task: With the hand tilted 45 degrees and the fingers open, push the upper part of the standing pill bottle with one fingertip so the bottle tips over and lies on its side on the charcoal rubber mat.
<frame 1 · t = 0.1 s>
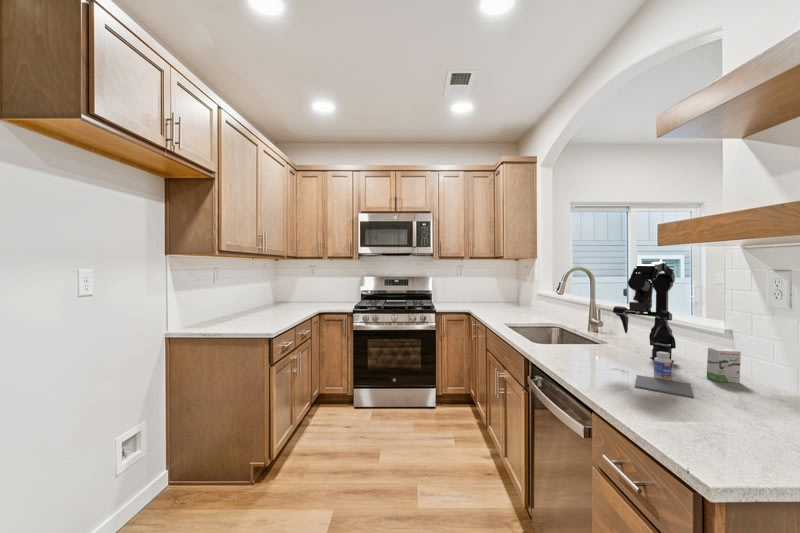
hand: (639, 335, 142), 15 cm above the worktop, tool pointing down, fingers open, 9 cm apart
ink box: (722, 380, 137), on the worktop
pill bottle: (662, 378, 138), on the worktop
rubber mat: (662, 386, 128), on the worktop
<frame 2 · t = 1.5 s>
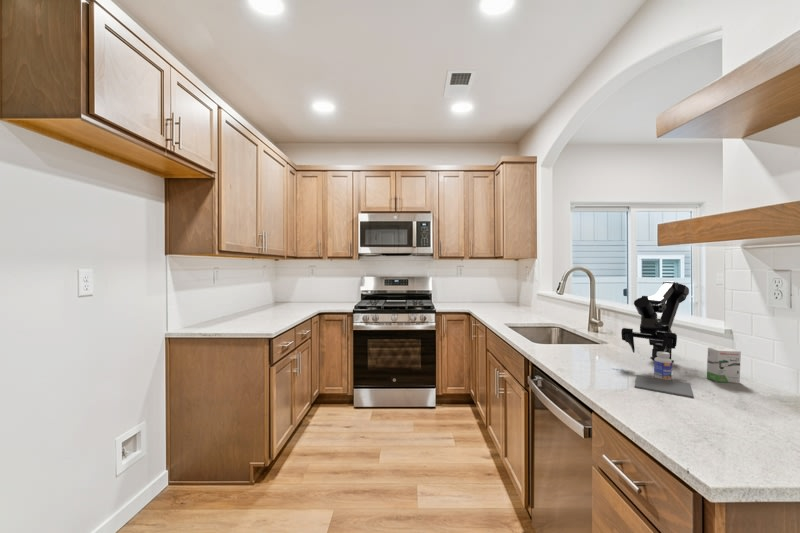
hand: (647, 353, 146), 7 cm above the worktop, tool tilted 45°, fingers open, 9 cm apart
nothing on the worktop moved.
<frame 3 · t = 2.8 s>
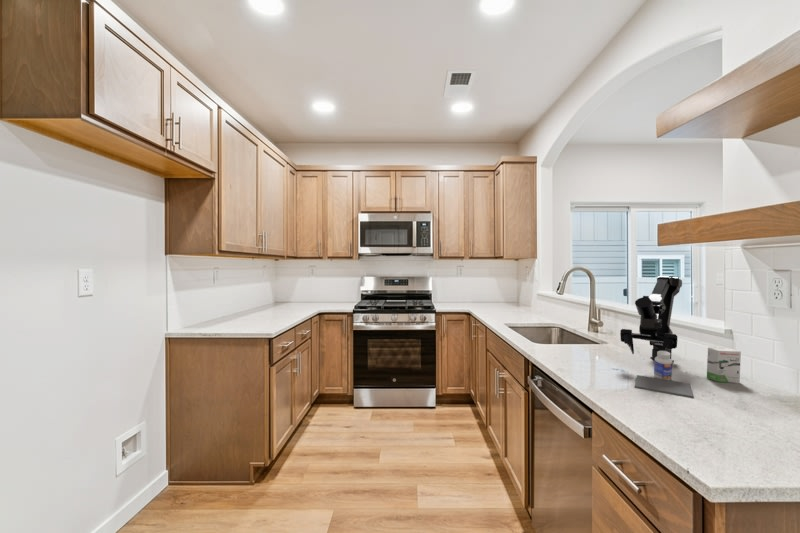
hand: (647, 355, 141), 8 cm above the worktop, tool tilted 45°, fingers open, 9 cm apart
pill bottle: (662, 377, 138), on the worktop, touching gripper
everything else where it was.
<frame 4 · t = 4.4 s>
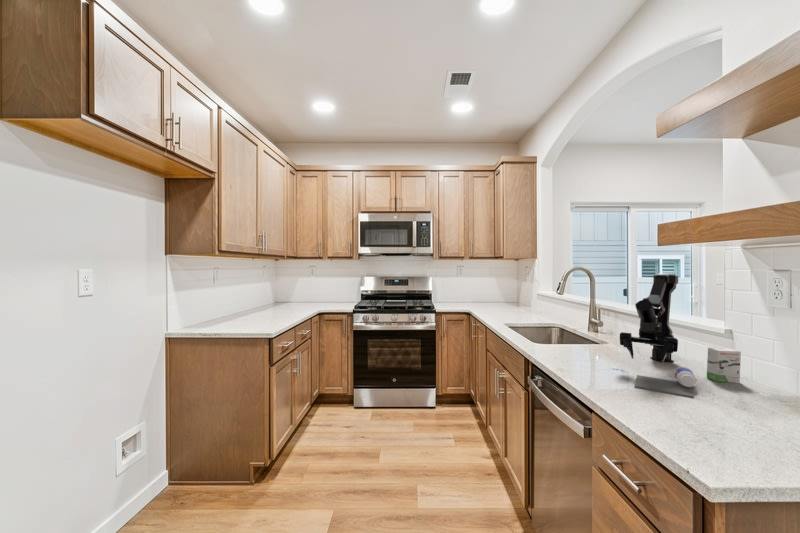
hand: (646, 360, 138), 7 cm above the worktop, tool tilted 45°, fingers open, 9 cm apart
pill bottle: (683, 374, 133), point 3 cm above the worktop, touching rubber mat
everything else where it was.
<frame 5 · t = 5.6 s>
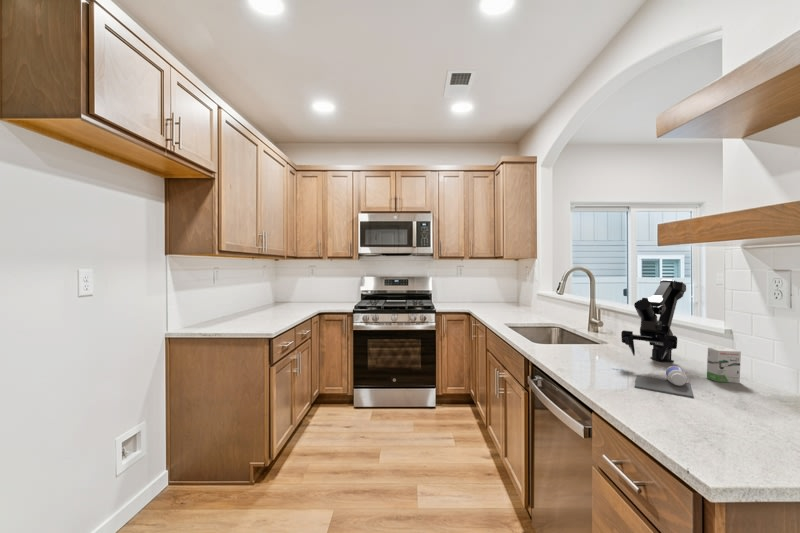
hand: (647, 356, 145), 6 cm above the worktop, tool tilted 45°, fingers open, 9 cm apart
pill bottle: (675, 372, 134), point 3 cm above the worktop, touching rubber mat
everything else where it was.
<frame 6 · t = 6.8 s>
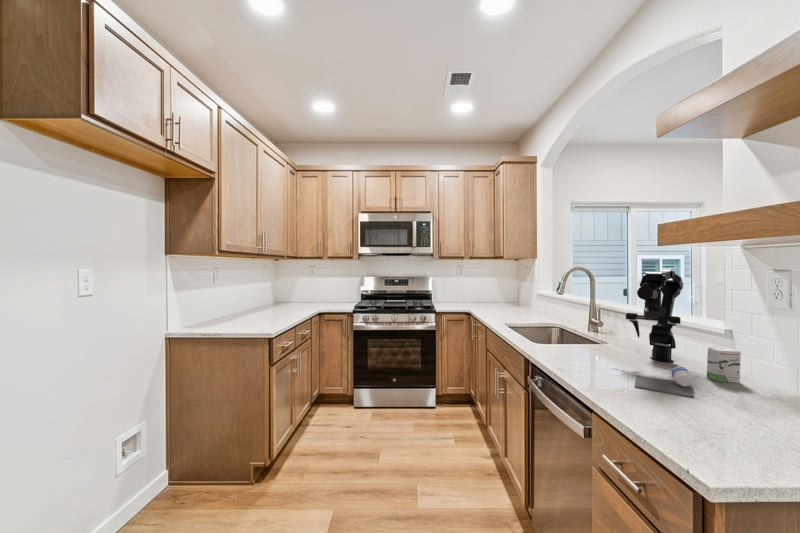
hand: (651, 339, 153), 12 cm above the worktop, tool pointing down, fingers open, 9 cm apart
pill bottle: (680, 373, 133), point 3 cm above the worktop, touching rubber mat
everything else where it was.
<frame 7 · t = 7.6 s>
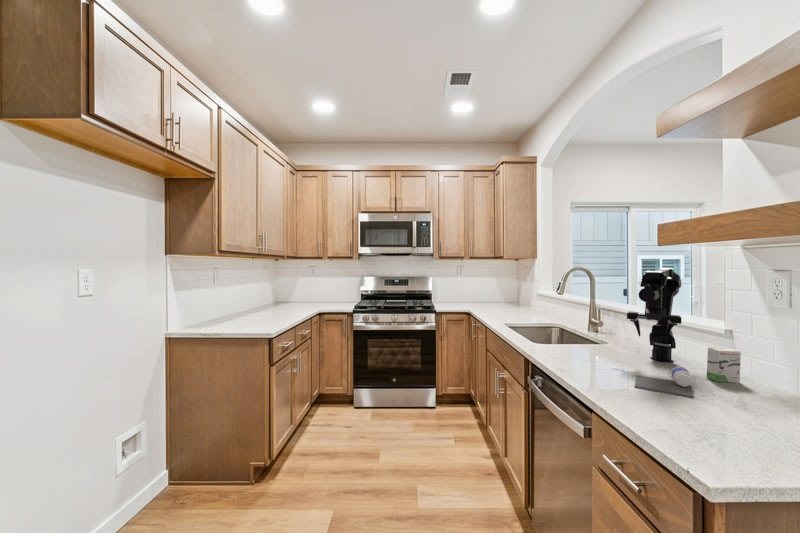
hand: (652, 337, 154), 12 cm above the worktop, tool pointing down, fingers open, 9 cm apart
nothing on the worktop moved.
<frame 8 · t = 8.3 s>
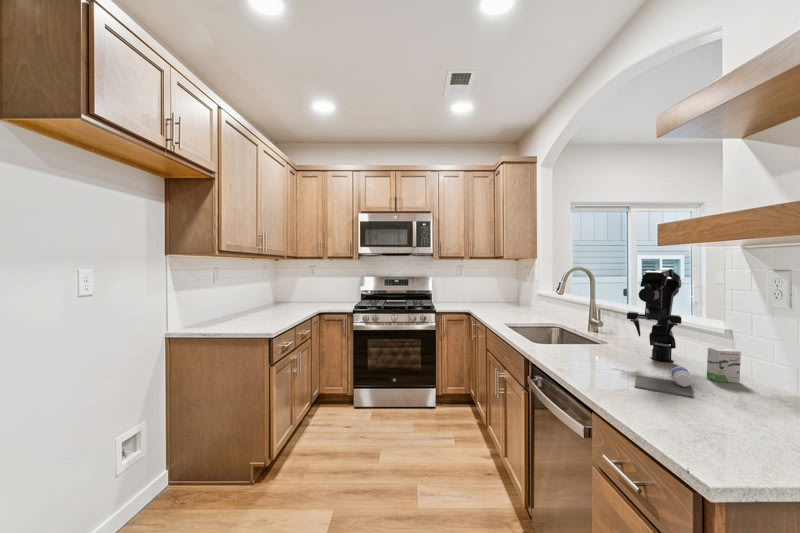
hand: (652, 337, 154), 12 cm above the worktop, tool pointing down, fingers open, 9 cm apart
nothing on the worktop moved.
at the end: pill bottle tilted 90°; pill bottle touching rubber mat; the gripper is holding nothing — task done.
